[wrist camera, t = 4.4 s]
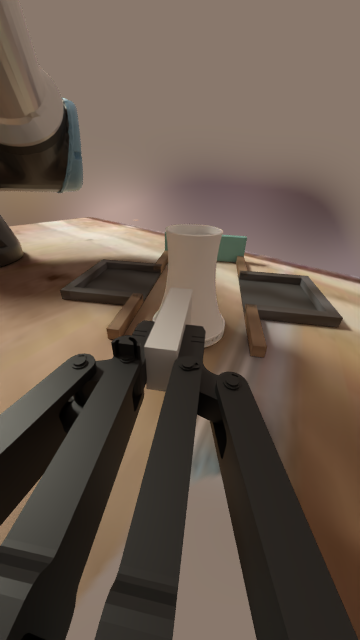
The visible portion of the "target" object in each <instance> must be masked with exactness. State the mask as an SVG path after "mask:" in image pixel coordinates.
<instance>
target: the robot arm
mask: <svg viewBox="0 0 360 640" xmlns="http://www.w3.org/2000/svg"><path fill="white" fill-rule="evenodd" d="M82 185H83V167H82V157H81V142H80V132H79V124H78V116H77V110H76V106H75V104H74V103H73V102H72V101H69V100H67V99H66V98H62V97H61V94H60V92H59V90H58V87H57V86H56V84H55V82H54V81H53V80H52V78H51V77H50V76H49V75H48V74H47V73H46V72H45V71H44V70H43V69H42V68H41V67H40V66H39V64H38V60H37V57H36V54H35V51H34V47H33V44H32V41H31V37H30V34H29V31H28V27H27V24H26V21H25V17H24V14H23V11H22V8H21V5H20V1H19V0H0V191H30V192H57V193H63V192H71V191H78V190H79V189H80V188H81V187H82ZM22 256H23V251H22V248H21V245H20V242H19V240H18V239H17V238H16V236H15V235H14V233H13V232H12V230H11V229H10V228H9V226H8V225H7V223H6V222H5V221H4V219H3V218H2V217H1V215H0V266H4V265H7V264H10V263H12V262H14V261H16V260H18V259H20V258H21V257H22ZM192 294H193V289H183V288H172V287H171V289H170V291H169V293H168V295H167V297H166V300H165V302H164V304H163V306H162V308H161V311H160V313H159V315H158V317H157V319H156V322H154V321H145V320H144V321H142V322H141V323H139V324H138V325H137V327H136V329H135V331H134V332H133V334H132V336H130V335H125V336H120V337H118V338H116V339H114V340H113V341H112V342H111V343H112V349H113V358H112V359H109V360H102V361H95V359H94V357H93V356H92V355H90V354H78V355H75V356H73V357H71V358H70V359H68V360H67V361H66V362H64V363H63V364H62V365H61V366H59V367H58V368H57V369H56V370H55V371H53V372H52V373H51V374H50V375H48V376H47V377H46V378H45V379H43V380H42V381H41V382H40V383H39V384H37V385H36V386H35V387H34V388H32V389H31V390H30V391H29V392H27V393H26V394H25V395H24V396H23V397H21V398H20V399H19V400H18V401H16V402H15V403H14V404H13V405H12V406H10V407H9V408H8V409H7V410H5V411H4V412H3V413H2V414H0V525H1V524H2V523H3V522H4V521H5V520H6V518H7V517H8V516H9V515H10V514H11V512H12V511H13V510H14V509H15V508H16V506H17V505H18V504H19V503H20V502H21V500H22V499H23V498H24V497H25V496H26V494H27V493H28V492H29V491H30V490H31V488H32V487H33V486H34V485H35V484H36V483H37V481H38V480H39V479H40V478H41V477H42V478H41V479H40V481H39V483H38V484H37V486H36V488H35V490H34V491H33V493H32V495H31V496H30V498H29V500H28V501H27V503H26V505H25V506H24V508H23V510H22V511H21V513H20V515H19V516H18V518H17V520H16V522H15V523H14V525H13V527H12V528H11V530H10V532H9V533H8V535H7V537H6V538H5V540H4V541H3V543H2V544H1V546H0V640H65V638H66V636H67V633H68V630H69V627H70V623H71V620H72V617H73V613H74V608H75V602H76V594H77V589H78V585H79V582H80V579H81V576H82V573H83V570H84V567H85V565H86V562H87V559H88V556H89V553H90V550H91V547H92V544H93V542H94V539H95V536H96V533H97V530H98V527H99V524H100V522H101V519H102V516H103V513H104V510H105V507H106V504H107V501H108V499H109V496H110V493H111V490H112V487H113V484H114V481H115V479H116V476H117V473H118V470H119V467H120V464H121V461H122V458H123V456H124V453H125V450H126V447H127V444H128V441H129V438H130V435H131V433H132V430H133V427H134V424H135V421H136V418H137V415H138V413H139V410H140V407H141V404H142V401H143V398H144V387H145V384H146V385H147V389H152V390H159V391H166V393H165V397H164V401H163V404H162V408H161V412H160V416H159V420H158V423H157V427H156V431H155V435H154V439H153V442H152V446H151V450H150V454H149V458H148V461H147V465H146V469H145V473H144V477H143V480H142V484H141V488H140V492H139V496H138V499H137V503H136V507H135V511H134V514H133V518H132V522H131V526H130V530H129V533H128V537H127V541H126V545H125V549H124V552H123V556H122V560H121V564H120V567H119V571H118V574H117V577H116V579H115V582H114V583H113V586H112V587H111V589H110V592H109V594H108V597H107V600H106V602H105V606H104V609H103V612H102V615H101V619H100V622H99V626H98V630H97V633H96V637H95V640H172V637H173V628H174V618H175V610H176V600H177V591H178V582H179V573H180V564H181V555H182V545H183V537H184V528H185V519H186V510H187V500H188V491H189V482H190V473H191V464H192V455H193V446H194V437H195V427H196V418H197V415H199V416H201V417H203V418H205V419H207V420H210V424H211V428H212V433H213V438H214V442H215V447H216V452H217V456H218V461H219V466H220V470H221V475H222V480H223V484H224V489H225V493H226V498H227V503H228V508H229V512H230V517H231V522H232V526H233V531H234V536H235V540H236V545H237V549H238V554H239V559H240V563H241V568H242V572H243V578H244V582H245V587H246V591H247V596H248V601H249V606H250V610H251V615H252V620H253V624H254V629H255V634H256V638H257V640H358V638H357V636H356V633H355V631H354V629H353V626H352V624H351V622H350V619H349V617H348V615H347V612H346V610H345V608H344V605H343V603H342V601H341V598H340V596H339V594H338V592H337V589H336V587H335V585H334V582H333V580H332V578H331V575H330V573H329V571H328V568H327V566H326V564H325V561H324V559H323V557H322V554H321V552H320V550H319V547H318V545H317V543H316V541H315V538H314V536H313V534H312V531H311V529H310V527H309V524H308V522H307V520H306V517H305V515H304V513H303V510H302V508H301V506H300V503H299V501H298V499H297V496H296V494H295V492H294V489H293V487H292V485H291V483H290V480H289V478H288V476H287V473H286V471H285V469H284V466H283V464H282V462H281V459H280V457H279V455H278V452H277V450H276V448H275V445H274V443H273V441H272V438H271V436H270V434H269V431H268V429H267V427H266V425H265V422H264V420H263V418H262V415H261V413H260V411H259V408H258V406H257V404H256V401H255V399H254V397H253V394H252V392H251V390H250V387H249V385H248V383H247V381H246V380H245V378H244V377H242V376H241V375H240V374H237V373H234V372H224V373H221V374H220V375H219V376H218V375H216V374H213V373H211V372H210V371H208V370H207V369H206V368H205V367H204V365H203V353H204V344H205V334H206V331H205V329H204V328H203V326H196V325H190V324H191V309H192ZM42 475H43V476H42Z"/></svg>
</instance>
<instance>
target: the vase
mask: <svg viewBox="0 0 360 640" xmlns="http://www.w3.org/2000/svg"><path fill="white" fill-rule="evenodd" d="M222 233H223V231H222V229H219V228H217V227H213V226H207V225H197V224H179V225H172V226H168V227H167V228H166V236H167V246H168V274H167V283H166V288H165V293H164V297H163V300H162V303H161V306H160V308H159V310H158V311H157V312H156V313H155V315H154V316H153V321H154V322H156V319H157V317H158V315H159V313H160V311H161V308H162V306H163V304H164V302H165V300H166V297H167V295H168V293H169V291H170V289H171V287H172V288H183V289H193V294H192V309H191V324H190V325H196V326H203V328H204V329H205V331H206V334H205V344H204V348H205V347H209V346H211V345H213V344H215V343H217V342H218V341H219V340H220V339H221V338H222V336H223V334H224V327H225V320H224V318H223V317H222V315H221V314H220V312H219V308H218V303H217V297H216V286H215V274H216V263H217V256H218V250H219V245H220V241H221V237H222Z"/></svg>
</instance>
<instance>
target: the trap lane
mask: <svg viewBox="0 0 360 640" xmlns="http://www.w3.org/2000/svg"><path fill="white" fill-rule="evenodd" d="M167 263H168V251H164V253H163V254H162V255H161V257H160V258H159V259H158V261H157V262H156V263H155V264H153V263H141V262H129V261H117V260H104V259H103V260H101V261H100V262H99V263H97V264H96V265H94V266H93V267H92V268H90V269H89V270H87V271H86V272H85V273H83V274H82V275H80V276H79V277H78V278H76V279H75V280H73V281H72V282H71V283H69V284H68V285H66V286H65V287H64V288H62V289H61V290H60V291H61V295H62V299H70V300H80V301H89V302H99V303H109V304H118V305H124V306H123V307H122V309H121V310H120V311H119V313H118V314H117V315H116V317H115V318H114V319H113V321H112V322H111V323H110V325H109V326H108V327H107V334H108V339H116V338H118V337H120V336H123V335H124V333H125V331H126V330H127V328H128V326H129V325H130V323H131V322H132V320H133V318H134V317H135V315H136V313H137V312H138V310H139V309H140V307H141V305H142V304H143V302H144V300H145V299H146V297H147V296H148V294H149V292H150V291H151V289H152V287H153V286H154V284H155V283H156V281H157V279H158V278H159V276H160V274H161V273H162V271H163V270H164V268H165V266H166V265H167ZM236 265H237V272H238V278H239V285H240V291H241V298H242V304H243V311H244V317H245V324H246V330H247V337H248V343H249V350H250V356H256V357H264V356H265V352H266V349H267V345H266V341H265V337H264V334H263V330H262V326H261V322H260V319H263V320H273V321H283V322H292V323H302V324H312V325H321V326H331V327H339V325H340V323H341V321H342V319H343V318H342V316H341V315H340V314H339V313H338V312H337V311H336V309H335V308H334V307H333V306H332V305H331V303H330V302H329V301H328V300H327V299H326V297H325V296H324V295H323V294H322V293H321V291H320V290H319V289H318V288H317V287H316V285H315V284H314V283H313V282H312V281H311V279H310V278H309V277H308V276H301V275H289V274H276V273H264V272H252V271H247V268H246V264H245V260H244V256H237V259H236Z"/></svg>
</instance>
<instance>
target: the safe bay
mask: <svg viewBox="0 0 360 640" xmlns="http://www.w3.org/2000/svg"><path fill="white" fill-rule="evenodd" d="M246 240H247V237H246V236H245V237H244V236H231V235H230V236H229V235H222V237H221V241H220V245H219V250H218V256H217V261H226V262H236V259H237V256H244V252H245V246H246ZM165 251H168V246H167V236H166V232H165Z"/></svg>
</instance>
